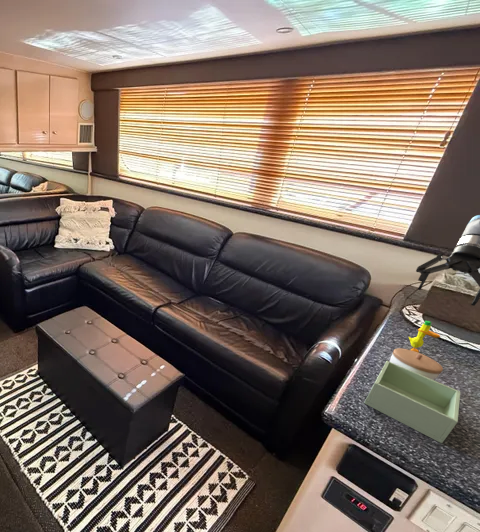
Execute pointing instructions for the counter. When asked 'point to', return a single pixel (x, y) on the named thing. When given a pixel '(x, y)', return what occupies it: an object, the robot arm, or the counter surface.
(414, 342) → the toy figure
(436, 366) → the trinket box
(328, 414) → the counter surface
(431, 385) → the bin
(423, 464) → the counter surface
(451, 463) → the counter surface
